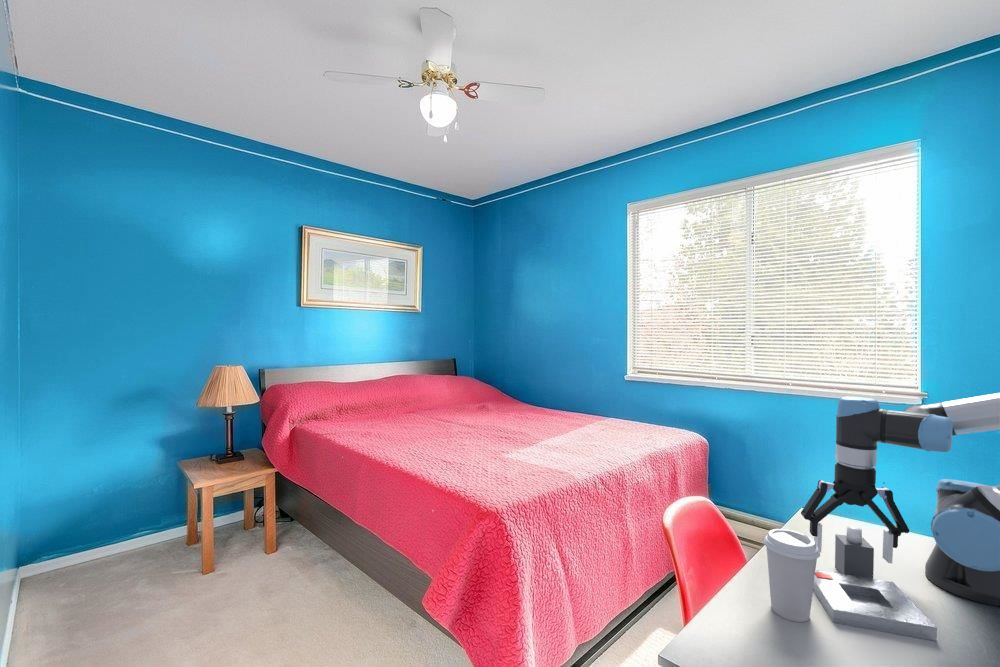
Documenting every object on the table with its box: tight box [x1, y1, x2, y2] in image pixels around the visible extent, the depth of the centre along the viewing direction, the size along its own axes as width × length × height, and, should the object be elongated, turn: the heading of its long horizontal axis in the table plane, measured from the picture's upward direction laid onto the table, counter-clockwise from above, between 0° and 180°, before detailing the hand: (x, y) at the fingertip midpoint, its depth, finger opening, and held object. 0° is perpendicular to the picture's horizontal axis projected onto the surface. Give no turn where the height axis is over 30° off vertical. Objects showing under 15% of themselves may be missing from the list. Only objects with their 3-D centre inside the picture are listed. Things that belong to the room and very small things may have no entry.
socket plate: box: [813, 569, 938, 642], centre depth 93 cm, size 16×16×3 cm
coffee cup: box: [763, 528, 821, 623], centre depth 91 cm, size 10×10×15 cm
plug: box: [834, 525, 875, 579], centre depth 105 cm, size 6×6×11 cm
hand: (851, 555), depth 106 cm, fingers open, 13 cm apart
